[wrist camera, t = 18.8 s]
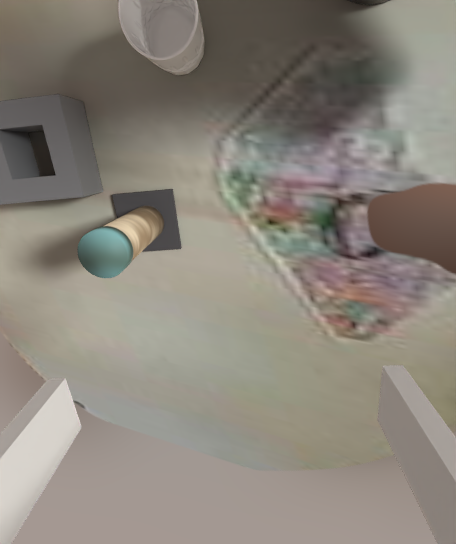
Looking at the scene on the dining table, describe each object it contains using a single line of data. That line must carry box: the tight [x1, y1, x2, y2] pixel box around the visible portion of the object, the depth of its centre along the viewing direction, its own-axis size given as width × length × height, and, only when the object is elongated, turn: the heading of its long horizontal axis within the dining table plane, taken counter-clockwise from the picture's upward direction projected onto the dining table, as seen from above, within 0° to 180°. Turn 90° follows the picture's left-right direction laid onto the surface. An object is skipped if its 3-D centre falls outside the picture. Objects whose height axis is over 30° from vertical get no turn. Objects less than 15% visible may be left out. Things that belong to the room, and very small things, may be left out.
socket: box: [0, 94, 103, 205], centre depth 43 cm, size 12×12×6 cm
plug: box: [78, 206, 164, 278], centre depth 40 cm, size 5×5×16 cm
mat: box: [112, 189, 181, 252], centre depth 48 cm, size 9×9×1 cm
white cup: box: [118, 0, 205, 75], centre depth 35 cm, size 8×8×10 cm
